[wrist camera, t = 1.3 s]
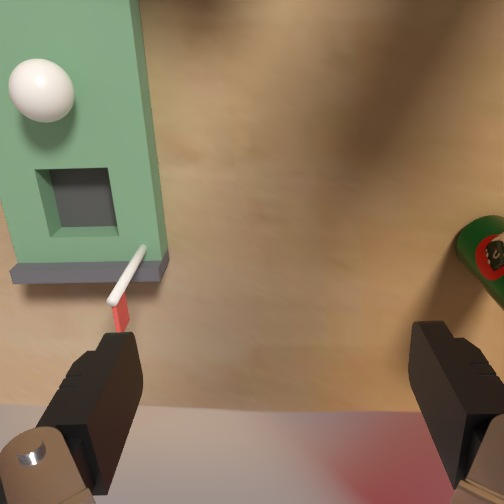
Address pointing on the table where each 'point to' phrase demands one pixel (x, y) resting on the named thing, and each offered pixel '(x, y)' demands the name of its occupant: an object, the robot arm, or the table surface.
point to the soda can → (484, 254)
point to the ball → (41, 90)
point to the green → (82, 151)
